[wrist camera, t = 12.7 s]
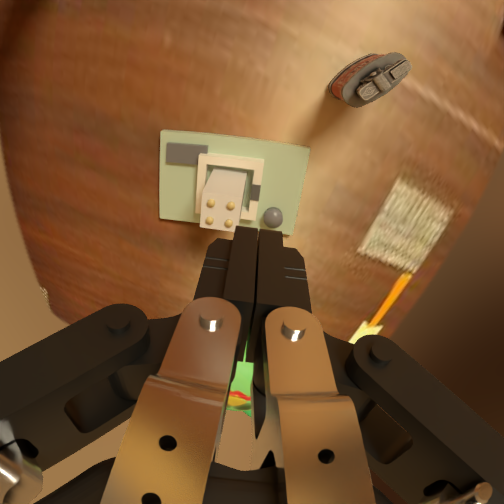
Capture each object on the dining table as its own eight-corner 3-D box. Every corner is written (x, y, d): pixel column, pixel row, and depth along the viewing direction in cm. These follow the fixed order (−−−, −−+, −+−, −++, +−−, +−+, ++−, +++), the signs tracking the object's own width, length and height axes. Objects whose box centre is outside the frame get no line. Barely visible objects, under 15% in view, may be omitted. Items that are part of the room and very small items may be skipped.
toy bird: (303, 320, 52) (310, 394, 40) (269, 373, 61) (268, 437, 49) (199, 292, 50) (180, 366, 38) (182, 352, 59) (166, 417, 47)
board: (161, 214, 43) (156, 224, 40) (163, 129, 36) (156, 134, 34) (291, 231, 43) (293, 241, 41) (309, 146, 37) (312, 152, 34)
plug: (211, 196, 40) (199, 228, 33) (214, 167, 38) (201, 193, 31) (243, 200, 40) (237, 233, 33) (247, 171, 38) (242, 198, 31)
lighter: (339, 105, 34) (363, 119, 25) (321, 83, 32) (340, 89, 24) (389, 70, 30) (427, 74, 22) (373, 47, 29) (407, 44, 21)
